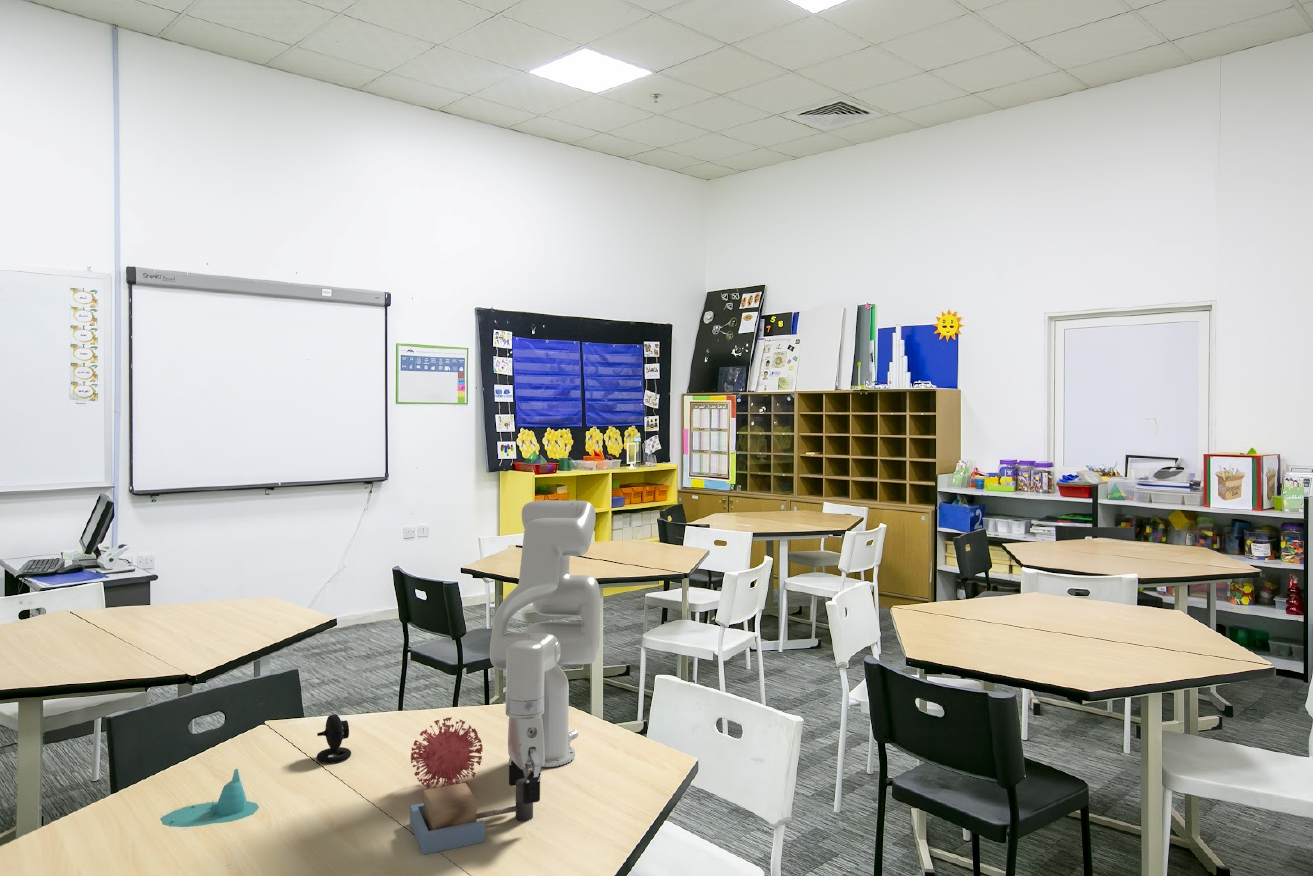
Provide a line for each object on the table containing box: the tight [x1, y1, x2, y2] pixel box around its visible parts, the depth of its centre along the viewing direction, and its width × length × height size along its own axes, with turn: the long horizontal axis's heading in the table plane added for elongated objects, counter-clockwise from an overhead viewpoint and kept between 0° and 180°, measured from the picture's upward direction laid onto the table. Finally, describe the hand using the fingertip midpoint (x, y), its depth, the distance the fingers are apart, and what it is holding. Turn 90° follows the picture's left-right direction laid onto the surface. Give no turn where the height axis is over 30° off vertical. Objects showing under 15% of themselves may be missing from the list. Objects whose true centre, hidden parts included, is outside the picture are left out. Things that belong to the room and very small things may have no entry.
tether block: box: [423, 778, 534, 831], centre depth 162 cm, size 20×9×7 cm, turn 116°
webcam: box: [316, 714, 352, 764], centre depth 195 cm, size 8×8×10 cm
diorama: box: [159, 768, 260, 828], centre depth 167 cm, size 12×20×9 cm, turn 106°
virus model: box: [410, 717, 483, 789], centre depth 178 cm, size 15×15×15 cm
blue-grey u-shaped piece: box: [409, 802, 486, 856], centre depth 159 cm, size 11×13×4 cm
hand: (524, 793), depth 165 cm, fingers open, 9 cm apart
